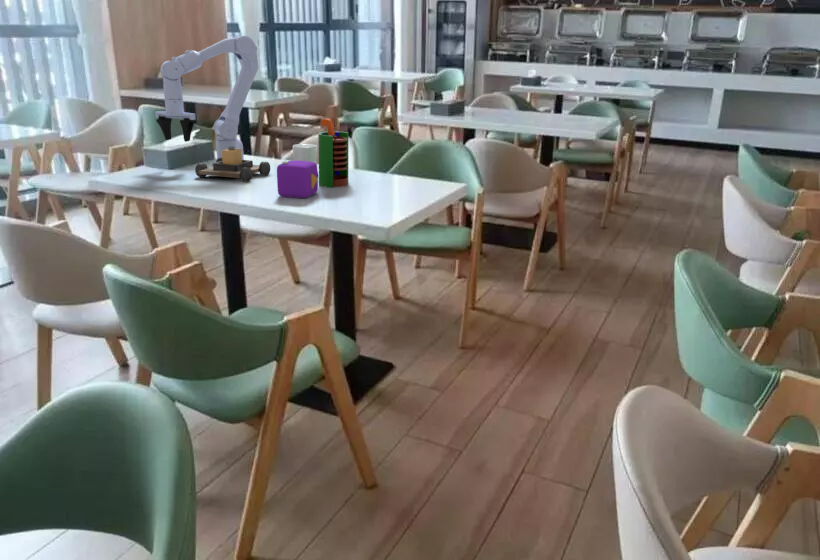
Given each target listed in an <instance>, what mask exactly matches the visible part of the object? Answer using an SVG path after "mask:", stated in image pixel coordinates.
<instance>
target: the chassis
mask: <svg viewBox="0 0 820 560" xmlns="http://www.w3.org/2000/svg"><path fill="white" fill-rule="evenodd" d="M212 164H213V165H212V166H210V167H208V165H207V164H206V163H203V162H198V163H197V164H196V165H195V169H194V170H195V171H194V172H195V175H196V177H198V178H205V177H207V176H214V177H224V178H235V179H240V180H241V181H242V182H245V183H246V182H250V181H251V180H252V178H253V175H254V174H257V173H259V174H260V175H261V176H269V174H271V173H270V172H271V165H270V163H269V162H268V161H261V162H260V163H259V164H254V163H253V160H250V159H249V160H248V159H244V160H242V163H240V164H237V165H231V164H223V160H222V158H218V159H217V158H216V162H213V163H212Z"/></svg>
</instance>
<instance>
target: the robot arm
mask: <svg viewBox="0 0 820 560" xmlns="http://www.w3.org/2000/svg"><path fill="white" fill-rule="evenodd" d="M257 52H258V48H257V46H256V44H255V41H254V40H253V38H251V37H250V36H248V35H234V36H232V37H227V38H224V39H222V40H219V41H218V42H216V43H213V44H212V45H210V46H207V47H205V48H204V49H201V50H200V51H196V50H193V49H192V50H189V49H187V50H185V51H184V53H183V54H181V55H178V56H172V57H171V60H166V61H164V62H163V63H162V64H161V66H160V69H159V72H160V75H161V76H162V82H163V96H164V105H165V111H164V110H160V111H159V110H158V111H156V110H155V111H154V113H155V114H154V115H155V118H156V119H155V120H156V121H155V122H156V123H157V124H158V126H159V127H160V129H161V131H162V133H163V135H164V136H163V137H164V139H165V141H169V140H172V130H171V129H172V127H171V126H172V120H173V119H177V120H178V119H179V123H180V126H181V129H182V134H183V135H182V136H183V140H184V142H190V141H191V135H192V131H193V128H194V125H195V123H196V118H197V117H196V113H192V112H186V111H185V108H184V97H183V86H182V80H181V77H182V75H186V74H189V73H190V72H193V71H195V70H197V69H199V68H201V67H202V65H203V63H204V62H205V61H207V60H210V59H212V58H214V57H216V56H219V55H221V54H222V55H223V54H224V53H230V54H231V53H232V54H234V55H235V56H236V58H237V60H238V61H239V63H240V66H241V69H240V70H239V73H238V76H237V79H236V81H235V83H234V86H233V88H232V91H231V93H230V96H229V98H228V101H227V104H226V106H225V108H224V110H223V111H222V112H221V113H220V116H219V118H217V119H216V120H215V121H214V124H213V131H214V133H215V134H216V137H215V147H216V160H217V159H218V158H222V150H226V149H228V147H229V146H234V147H235V149H241V151H242V160H245V157H244V145H243V142H242V141H241V140H240V139H239V138H238V137H237V135H238V133H239V128H238V126H239V123H240V115H241V111H242V110H243V106H244V105H245V101H246V99H247V96H248V95H249V92H250V90H251V87H252V85H253V82H254V79H255V77H256V75H257V72H258V69H259V62H258V61H259V60H258V55H257V54H258V53H257ZM212 166H213V163H212Z"/></svg>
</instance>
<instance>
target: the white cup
mask: <svg viewBox="0 0 820 560" xmlns="http://www.w3.org/2000/svg"><path fill="white" fill-rule="evenodd" d="M292 155H293V160H295V161H309V162H314V163H316V164H317V162H318V145H317V144H314V143H297V144H293V145H292ZM317 165H318V164H317Z"/></svg>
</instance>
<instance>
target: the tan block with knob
mask: <svg viewBox="0 0 820 560" xmlns="http://www.w3.org/2000/svg"><path fill="white" fill-rule="evenodd" d="M222 160H223V164H231V165H237V164H240V163H242V151H241V149H235V147H234V146H229V147H228V149H226V150H222Z"/></svg>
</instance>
